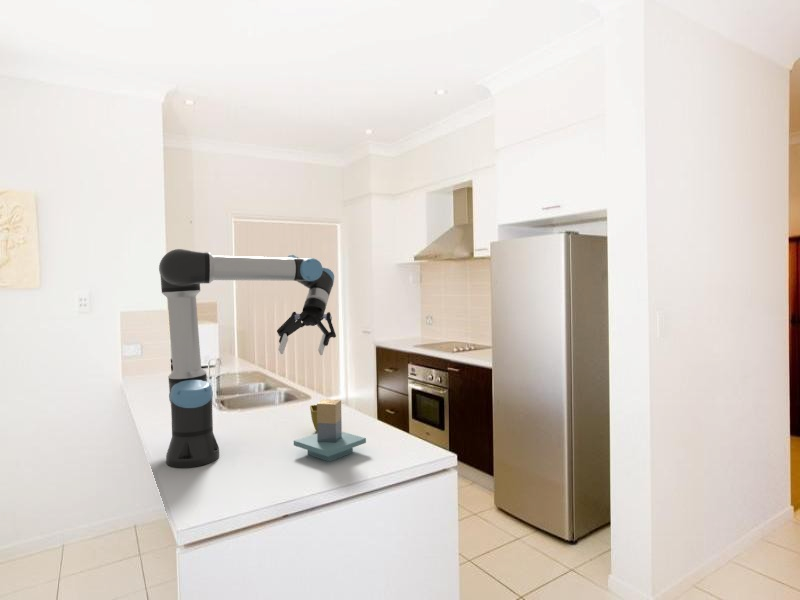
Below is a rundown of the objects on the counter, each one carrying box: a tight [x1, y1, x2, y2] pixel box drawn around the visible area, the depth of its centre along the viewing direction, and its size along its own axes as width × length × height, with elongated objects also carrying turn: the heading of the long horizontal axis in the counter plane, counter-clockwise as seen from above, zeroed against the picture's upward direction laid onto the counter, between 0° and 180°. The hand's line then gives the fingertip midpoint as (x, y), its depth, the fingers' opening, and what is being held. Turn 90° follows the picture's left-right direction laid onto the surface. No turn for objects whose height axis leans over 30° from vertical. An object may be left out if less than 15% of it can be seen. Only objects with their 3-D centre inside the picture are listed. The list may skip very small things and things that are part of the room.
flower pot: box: [309, 404, 317, 433], centre depth 182 cm, size 9×9×9 cm
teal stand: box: [293, 431, 367, 462], centre depth 159 cm, size 16×16×4 cm
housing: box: [316, 398, 343, 443], centre depth 159 cm, size 6×6×12 cm
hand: (300, 352), depth 164 cm, fingers open, 13 cm apart
